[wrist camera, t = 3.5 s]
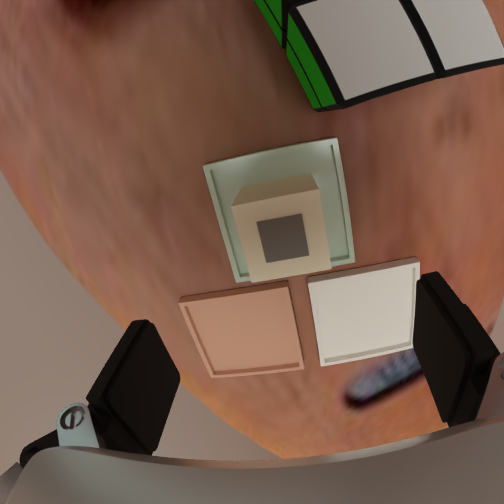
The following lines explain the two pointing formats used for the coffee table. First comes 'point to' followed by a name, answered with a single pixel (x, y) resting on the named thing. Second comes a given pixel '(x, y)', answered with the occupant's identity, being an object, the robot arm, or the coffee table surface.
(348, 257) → the dish sage
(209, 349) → the dish terracotta
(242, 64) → the coffee table surface
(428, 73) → the puzzle cube
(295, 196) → the cream cube
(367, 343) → the dish offwhite
